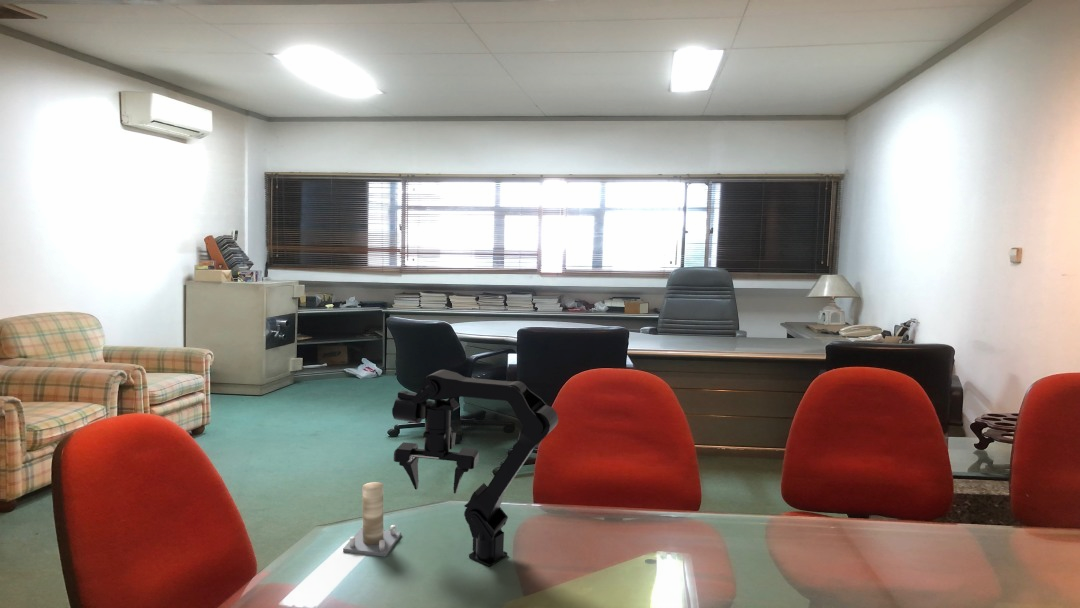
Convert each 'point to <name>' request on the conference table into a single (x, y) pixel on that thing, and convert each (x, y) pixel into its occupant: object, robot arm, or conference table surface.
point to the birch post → (372, 513)
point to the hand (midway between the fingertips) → (435, 490)
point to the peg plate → (377, 549)
